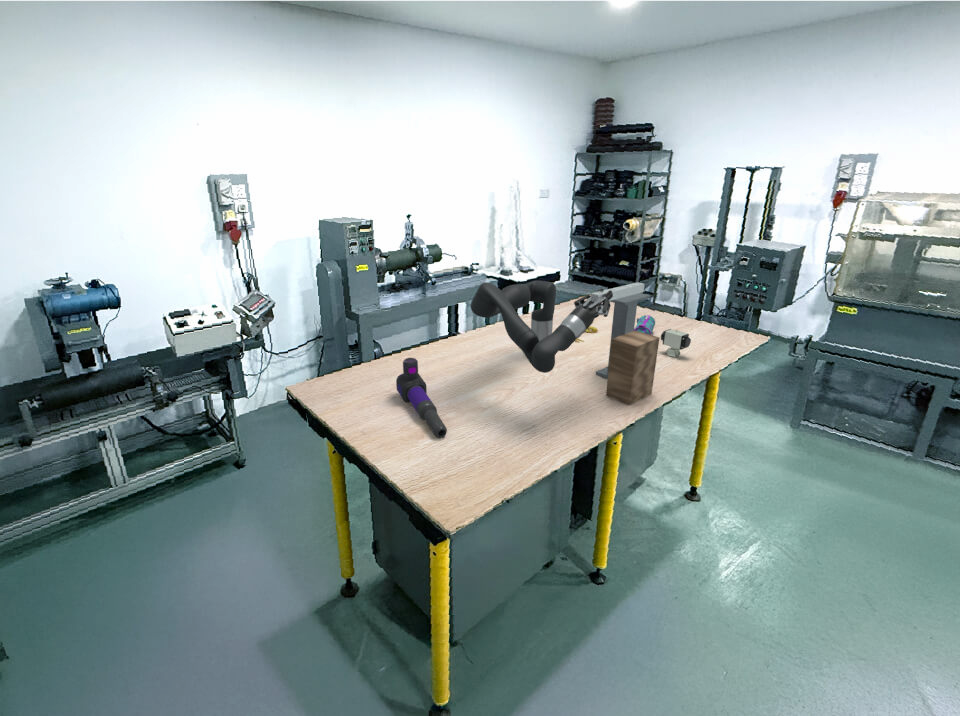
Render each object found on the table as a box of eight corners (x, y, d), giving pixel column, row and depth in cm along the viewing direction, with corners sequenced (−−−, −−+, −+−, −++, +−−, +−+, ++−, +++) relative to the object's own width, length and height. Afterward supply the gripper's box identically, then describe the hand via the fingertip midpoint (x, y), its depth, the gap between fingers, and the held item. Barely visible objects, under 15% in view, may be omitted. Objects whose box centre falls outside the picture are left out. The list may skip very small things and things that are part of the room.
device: (428, 447, 152) (427, 406, 146) (395, 392, 182) (393, 356, 175) (455, 440, 156) (455, 400, 149) (419, 388, 185) (417, 352, 179)
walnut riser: (629, 405, 173) (636, 346, 165) (605, 395, 180) (611, 338, 172) (651, 393, 181) (659, 337, 173) (628, 384, 188) (634, 330, 180)
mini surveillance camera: (682, 361, 210) (686, 334, 206) (658, 353, 219) (661, 327, 214) (689, 358, 213) (693, 331, 209) (665, 350, 222) (668, 325, 217)
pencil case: (635, 330, 248) (637, 312, 245) (653, 332, 245) (656, 314, 242) (630, 343, 231) (632, 324, 227) (650, 346, 227) (652, 326, 224)
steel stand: (616, 382, 190) (625, 302, 178) (595, 374, 197) (602, 297, 185) (640, 372, 200) (650, 295, 188) (619, 364, 207) (627, 290, 195)
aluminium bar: (597, 304, 162) (598, 295, 161) (590, 302, 164) (591, 293, 163) (643, 292, 177) (644, 283, 176) (636, 290, 179) (637, 282, 178)
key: (557, 340, 236) (557, 337, 236) (587, 327, 253) (587, 324, 252) (576, 347, 229) (576, 343, 229) (606, 333, 246) (606, 330, 245)
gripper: (589, 320, 153) (622, 286, 158) (556, 310, 163) (588, 278, 169) (595, 338, 158) (626, 304, 163) (562, 327, 168) (593, 295, 173)
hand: (606, 291), depth 166 cm, fingers closed on aluminium bar, 3 cm apart
